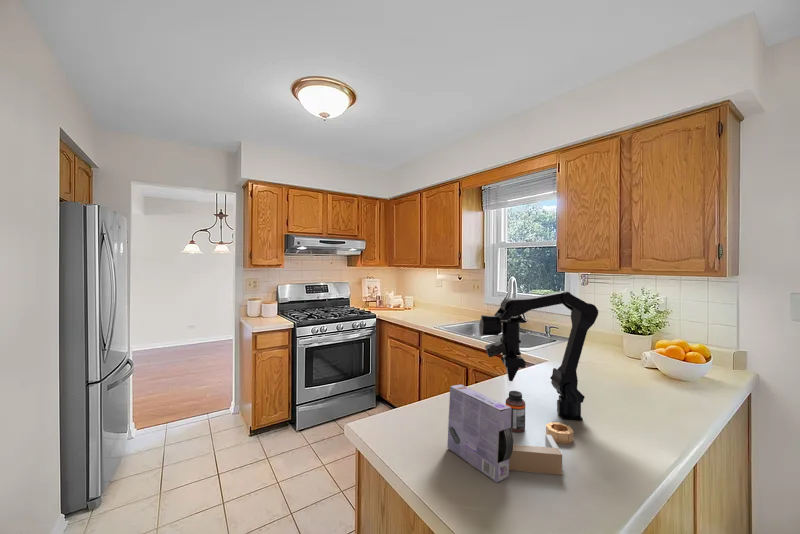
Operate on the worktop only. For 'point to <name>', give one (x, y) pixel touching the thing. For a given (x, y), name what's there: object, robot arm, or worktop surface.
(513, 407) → the supplement bottle
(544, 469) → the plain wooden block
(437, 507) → the worktop surface
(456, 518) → the worktop surface
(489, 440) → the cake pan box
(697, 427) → the worktop surface
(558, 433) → the wooden octagonal ring
